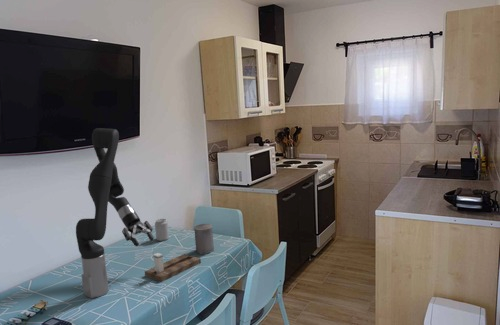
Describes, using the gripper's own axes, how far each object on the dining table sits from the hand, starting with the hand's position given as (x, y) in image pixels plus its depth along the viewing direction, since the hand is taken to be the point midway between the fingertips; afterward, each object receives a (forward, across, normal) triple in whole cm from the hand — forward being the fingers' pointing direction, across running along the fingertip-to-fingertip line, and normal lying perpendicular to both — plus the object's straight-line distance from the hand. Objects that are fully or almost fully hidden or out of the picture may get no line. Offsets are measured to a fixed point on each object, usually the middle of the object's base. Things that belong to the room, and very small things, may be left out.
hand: (145, 242), depth 186 cm
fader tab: (+16, 0, +3) cm, 16 cm away
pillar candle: (+14, +34, +7) cm, 37 cm away
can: (-11, +34, +32) cm, 48 cm away
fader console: (+17, +8, +4) cm, 19 cm away
